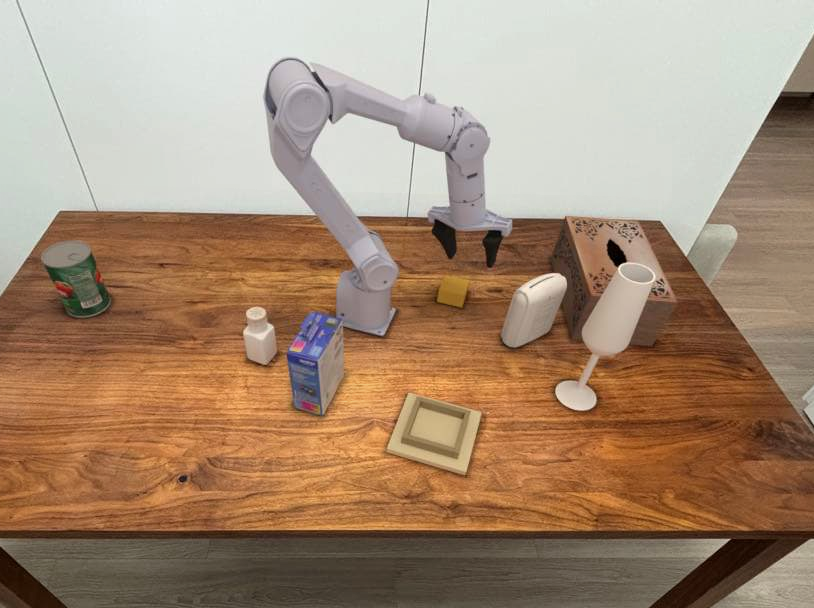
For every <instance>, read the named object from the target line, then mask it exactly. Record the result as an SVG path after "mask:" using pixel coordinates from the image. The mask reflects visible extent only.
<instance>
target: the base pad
mask: <svg viewBox="0 0 814 608" xmlns="http://www.w3.org/2000/svg"><path fill="white" fill-rule="evenodd" d="M482 414H483V412H482V411H479V410H475V409H472V408H468V407H464V406H461V405H457V404H454V403H450V402H446V401H443V400H439V399H435V398H432V397H428V396H424V395H420V394H417V393H413V392H410V391H409V392H408V393H407V395H406V398H405V401H404V402H403V405H402V408H401V411H400V413H399V415H398V418H397V421H396V423H395V426H394V428H393V431H392V432H391V433H392V434H391V436H390V439H389V441H388V444H387V446H386V449H385V451H386V453H388V454H391V455H394V456H398V457H401V458H404V459H408V460H412V461H415V462H418V463H421V464H425V465H428V466H431V467H435V468H438V469H441V470H444V471H449V472H451V473H455V474H459V475H462V476H466V475H467V471H468V469H469V468H468V467H469V463H470V461H471V456H472V453H473V448H474V444H475V442H476V441H475V440H476V437H477V433H478V430H479V425H480V422H481V419H482V418H481V417H482Z"/></svg>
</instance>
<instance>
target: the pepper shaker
mask: <svg viewBox="0 0 814 608" xmlns="http://www.w3.org/2000/svg"><path fill="white" fill-rule="evenodd" d="M245 317H246V322H247V326H246V327H245V328H244V330H243V334H242V335H243V340H244V341H243V342H244V346H245V353H246V357H247V359H249V361H252V362H255V363H258V364H261V365H263V366H265V365H266V366H267V365H268V364H270V362H271V360H272V359H273V358H274V357H275V356H276V354H277V353H278V347H277V338H276V330H275V326H274V325H273V324H271V323H269V322H268V321H269V320H268V315H267V311H266V309H265V308H263V307H261V306H253V307H250V308H249V309H247V310H246V312H245Z"/></svg>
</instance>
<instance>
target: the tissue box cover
mask: <svg viewBox="0 0 814 608" xmlns="http://www.w3.org/2000/svg"><path fill="white" fill-rule="evenodd" d="M550 262H551V266H552V270H553V273H559V274H560V275H562V276H564V277H565V278H566V281H567V289H566V292H565V294H564V297H563V299H562V302H561V305H562V308H563V309H562V310H563V313H564V318H565V321H566V324H567V328H568V333H569V336H570V339H571V341H578V342H579V341H580V342H584V341H583V338H582V329H583V326H584V325H585V323H586V321H587V320H588V318H589V316H590V315H591V313H592V311H593V310H594V308H595V306H596V305H597V303H598V301H599V299H600V298H601V296H602V294H603V293H604V291H605V289H606V288H607V286H608V284H609V283H610V281H611V279H612V278H613V276H614V274H615V272H616V271H617V269H618V267H619V266H620V265H621V264H623V263H638V264H641V265H644V266H646V267H648V268H649V269H651V270H652V271H653V272H654V274H655V281H654V283H653V286H652V288H651V291H650V293H649V295H648V298H647V300H646V303H645V305H644V308H643V310H642V313H641V315H640V318H639V320H638V322H637V325H636V327H635V330H634V332H633V335H632V337H631V340H630V342H629V344H628V346H629V345H630V346H641V347H642V346H643V347H653V346H654V343H655V342H656V340H657V338H658V337H659V335H660V334H661V331H662V330H663V328H664V327H665V325H666V323H667V322H668V320H669V318H670V317H671V315H672V313H673V311H674V310H675V308H676V306H677V304H678V303H679V301H678V299H677V298H676V297H677V296H676V295H675V292H674V291H673V289H672V287H671V284H670V283H669V281H668V279H667V276H666V274H665V272H664V270H663V269H662V267H661V264H660V262H659V260H658V258H657V256H656V254H655V251H654V250H653V248H652V245H651V244H650V241H649V239H648V237H647V235H646V233H645V231H644V229H643V227H642V225H641V223H640V221H639V220H630V219H615V218H605V217H604V218H602V217H591V216H589V217H587V216H577V215H576V216H574V215H565V216H564V219H563V222H562V225H561V227H560V230H559V233H558V236H557V240H556V242H555V245H554V248H553V251H552V253H551V257H550Z"/></svg>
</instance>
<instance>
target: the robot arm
mask: <svg viewBox="0 0 814 608" xmlns="http://www.w3.org/2000/svg"><path fill="white" fill-rule="evenodd" d="M309 64H310V66H311V67H312V69H313V70H314V71H312V70H311V68H310V66H309V65H308V64H307V63H306V62H305V61H304V60H302V59H300V58H298V57H296V56H284V57H282V58H280V59H278V60H276V61H275V62H274V63H273V64H272V65H271V67H270V68H269V70H268V73H267V77H266V81H265V84H264V85H265V86H264V90H263V95H262V99H263V105H264V109H265V114H266V115H265V116H266V125H267V132H268V142H269V151H270V155H271V157H272V160H273V163H274V165H275V166H276V168H277V169H278V171H279V172H280V173H281V174H282V175H283V177H284V178H285V180H287V181H288V183H289V184H290V185H291V186H292V188H293V189H294V190H295V192H297V194H298V195H299V196H300V197H301V198H302V200H303V201H304V202H305V204H306V205H307V206H308V207H309V208H310V210H312V212H313V213H314V214H315V215H316V217H317V218H318V219H319V221H320V222H321V223H322V224H323V225H324V227H325V228H326V230H328V231H329V233H330V234H331V235H332V236H333V237H334V239H335V240H336V241H337V242H338V244H339V245H340V246H341V247H342V248H343V249H344V251H345V252H346V254H347V256H348V257H349V259H350V260H351V262H352V263H353V267H352V270H347V269H345V270H343V271H342V272H341V274H340V276H339V278H338V281H337V285H336V291H335V317H337V318H341V319H342V320H343V328H348V329H351V330H355V331H359V332H364V333H367V334H368V333H369V334H371V335H375V336H379V337H384V336H385V335H386V332H387V331H388V328H389V327H390V324H391V322H392V320H393V318H394V316H395V314H396V312H397V309H396V308H395V307H391V302H392V301H391V300H392V288H393V285H395V283H396V282H397V280H398V278H399V273H400V270H399V267H398V264H397V263H396V262H395V260H393V258H392V256H391V254H390V253H389V251H388V249H387V247H386V245H385V243H384V242H383V239H382V237H381V235H380V234H379V233H378V232H375V231H373V230H371V229H369V228H368V227H367V226H366V225H365V223H364V222H361V220H360V219H359V217H358V216H357V215H356V213H355V212H354V210H353V209H352V208H351V207H350V205H349V204H348V202H347V201H346V200H345V198H344V197H343V196H342V195H341V193H340V192H339V191H338V189H337V188H336V186H335V185H334V184H333V182H332V181H331V180H330V178H329V177H328V176H327V174H326V173H325V171H324V170H323V169H322V168H321V166H320V165H319V164H318V162H317V161H316V160H315V158H314V157H313V156H312V151H313V149H314V148H313V146H314V144H315V143H316V142H317V139H318V137H319V136H320V134H321V133H322V131H323V129H324V128H325V127H326V124H327V122H328V120H329V122H330V123H331V125H335V124H337V123H338V122H339V121H340V120H341V119H343V118H344V117H345V116H346V115H347V114H351V115H355V116H358V117H362V118H365V119H369V120H372V121H376V122H378V123H382V124H386V125H390V126H393V127H396V129H397V132H398V136H399V137H400V139H401V140H405V141H407V142H409V143H413V144H415V145H419V146H421V147H424V148H427V149H430V150H433V151H435V152H439V153H444V158H445V159H444V160H445V173H446V181H447V183H446V184H447V193H448V203H449V206H435V205H432V206H431V207H430V209H429V210H428V211H427V213H426V214H427V219H428V220H427V221H428V223H432V224H433V227H432V228H431V234H432V235H433V237H435V238H436V239H437V241H438V242H439V243H440V245H441V247H442V248H443V251H444V252H445V255H446V256H447V259H448V260H452V259H453V258H454V257H455V255H456V254H457V253H458V252H457V250H458V248H457V247H458V246H457V237H456V236H457V235H456V233H457V232H456V231H458V232H459V231H460V232H480V231H482V232H483V231H487V233H486V235H485V236H484V237H483V239H482V240H481V243H482V245H483V247H484V251H485V261H486V263H485V264H486V267H487V269H492V268H493V266H494V265H495V263H496V262H497V257H498V252H499V248H500V246H501V243H502V241H503V239H504V237H505V238H506V237H509V235H510V234H511V232H512V231H513V219H512V218H507V217H504V216H503V215H499V214H497V213H495V212H494V211H491V210H489V209H487V206H486V183H485V182H486V180H485V161H484V159H485V155H486V154H487V152H488V150H489V147H490V145H491V137H489V135H488V131H487V129H486V127H485V126H484V125H483V124H482V123H481V122H480V120H478V119H477V118H476V117H474V116H473V114H472V113H470V112H469V111H468V110H466V109H464V107H463V106H458V105H454V106H453V107H450V106H447V105H445V104H442V103H440V102H437V98H436V97H435V96H434V95H433V94H432V93H429V92H424V94H423V96H422V95H420V94H416V93H415V94H412V95H410V96H408V97H406V98H405V99H401V98H399V97H397V96H394V95H392V94H390V93H387V92H385V91H383V90H380V89H378V88H376V87H374V86H371V85H369V84H367V83H365V82H362V81H360V80H358V79H356V78H353V77H351V76H349V75H347V74H345V73H342V72H340V71H337V70H335V69H333V68H330V67H327V66H325V65H322V64H320V63H316V62H309Z"/></svg>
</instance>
